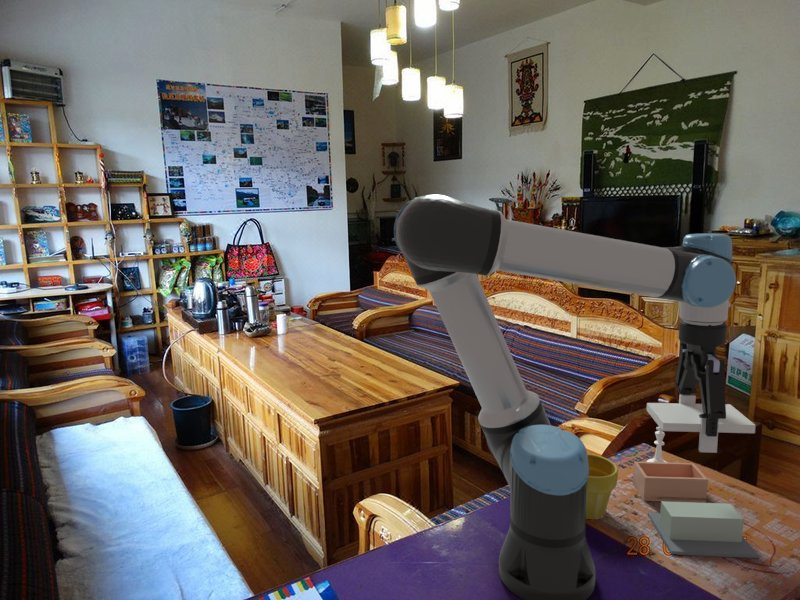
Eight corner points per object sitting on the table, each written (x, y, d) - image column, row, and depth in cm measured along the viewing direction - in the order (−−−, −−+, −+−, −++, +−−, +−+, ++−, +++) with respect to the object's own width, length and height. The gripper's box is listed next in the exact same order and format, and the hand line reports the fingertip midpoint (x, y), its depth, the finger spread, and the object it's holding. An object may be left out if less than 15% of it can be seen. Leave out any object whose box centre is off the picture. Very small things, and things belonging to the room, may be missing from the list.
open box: (643, 500, 111) (644, 477, 111) (632, 483, 118) (634, 461, 117) (706, 502, 110) (708, 479, 109) (691, 485, 117) (693, 463, 116)
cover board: (662, 431, 98) (663, 422, 97) (646, 410, 107) (646, 402, 107) (754, 433, 95) (755, 425, 95) (729, 411, 105) (730, 404, 105)
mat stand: (671, 554, 94) (672, 527, 93) (647, 515, 106) (649, 491, 105) (758, 558, 93) (760, 531, 92) (724, 518, 105) (726, 493, 104)
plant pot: (620, 505, 110) (623, 459, 108) (609, 531, 101) (611, 482, 100) (568, 492, 115) (569, 448, 114) (553, 515, 107) (554, 468, 105)
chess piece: (641, 462, 128) (644, 421, 126) (661, 460, 128) (664, 419, 127) (653, 472, 123) (656, 429, 121) (674, 470, 124) (677, 428, 122)
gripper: (756, 336, 87) (746, 468, 90) (701, 308, 109) (694, 416, 112) (705, 336, 88) (697, 466, 92) (660, 309, 110) (655, 415, 114)
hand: (696, 438), depth 102 cm, fingers closed on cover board, 10 cm apart
